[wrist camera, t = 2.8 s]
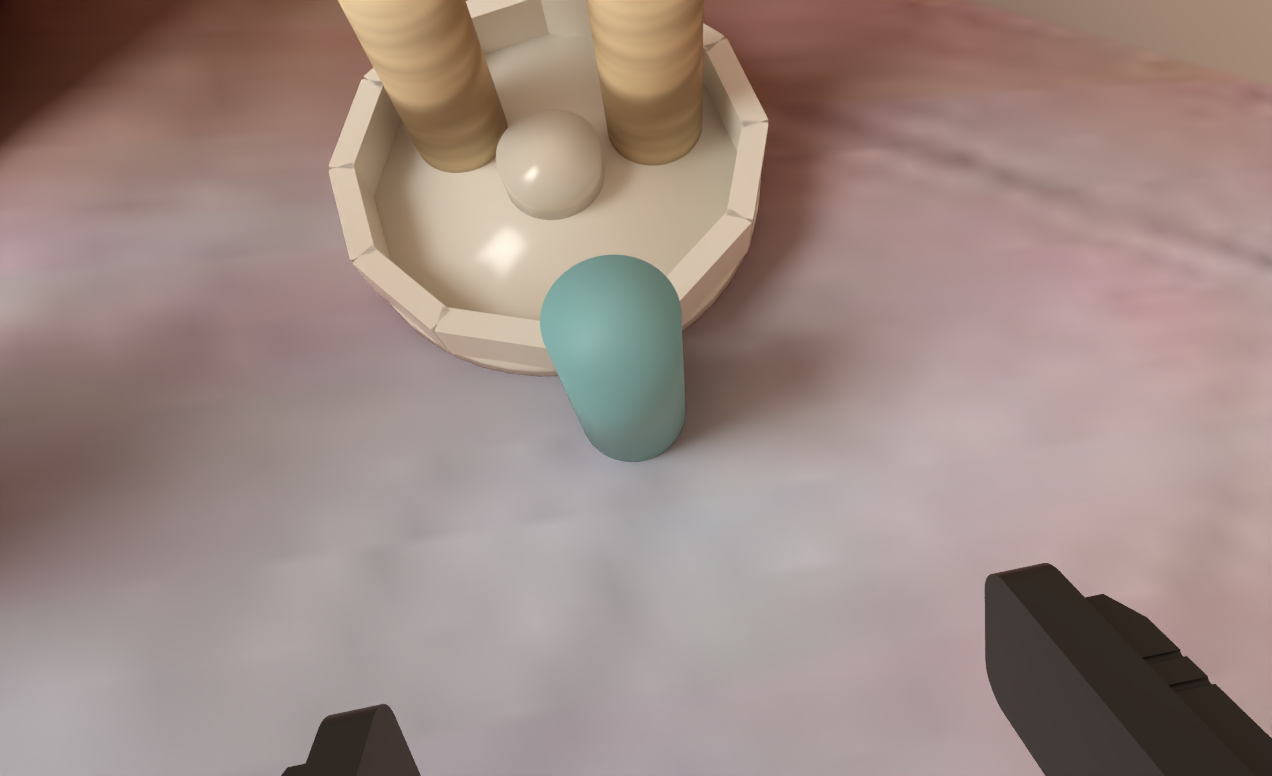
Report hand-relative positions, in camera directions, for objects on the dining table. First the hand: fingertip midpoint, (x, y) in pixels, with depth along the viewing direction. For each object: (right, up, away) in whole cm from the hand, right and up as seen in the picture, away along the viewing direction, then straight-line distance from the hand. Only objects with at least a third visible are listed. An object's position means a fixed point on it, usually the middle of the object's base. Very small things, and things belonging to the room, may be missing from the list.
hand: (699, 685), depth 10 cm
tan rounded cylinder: (-10, +17, +30) cm, 36 cm away
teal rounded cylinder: (-1, +3, +25) cm, 25 cm away
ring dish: (-5, +14, +30) cm, 33 cm away
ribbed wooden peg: (0, +17, +29) cm, 34 cm away
